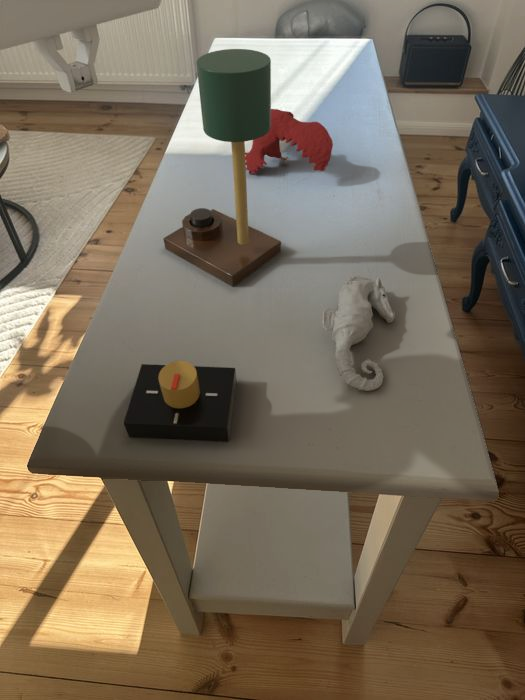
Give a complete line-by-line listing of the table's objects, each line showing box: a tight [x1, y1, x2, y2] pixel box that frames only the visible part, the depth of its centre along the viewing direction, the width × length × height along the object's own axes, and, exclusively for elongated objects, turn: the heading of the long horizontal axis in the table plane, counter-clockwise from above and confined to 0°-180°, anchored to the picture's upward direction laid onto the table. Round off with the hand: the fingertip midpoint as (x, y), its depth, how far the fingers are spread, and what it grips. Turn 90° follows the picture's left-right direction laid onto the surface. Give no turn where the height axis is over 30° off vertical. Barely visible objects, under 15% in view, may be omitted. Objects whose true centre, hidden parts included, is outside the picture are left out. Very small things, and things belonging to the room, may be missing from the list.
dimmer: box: [123, 363, 237, 443], centre depth 59 cm, size 12×9×3 cm
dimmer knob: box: [158, 360, 200, 408], centre depth 56 cm, size 4×4×4 cm
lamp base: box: [163, 208, 282, 287], centre depth 81 cm, size 16×12×4 cm
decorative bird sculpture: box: [245, 108, 334, 175], centre depth 100 cm, size 28×9×15 cm
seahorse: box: [321, 275, 396, 392], centre depth 66 cm, size 5×12×20 cm
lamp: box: [195, 48, 272, 245], centre depth 68 cm, size 9×9×26 cm
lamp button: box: [189, 207, 213, 228], centre depth 81 cm, size 4×4×2 cm
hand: (80, 87), depth 44 cm, fingers closed
